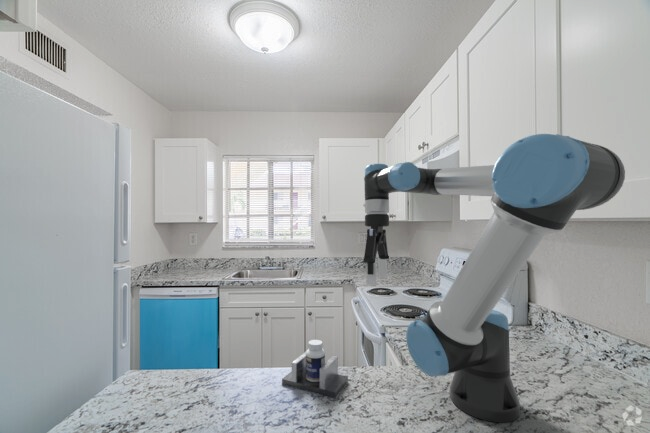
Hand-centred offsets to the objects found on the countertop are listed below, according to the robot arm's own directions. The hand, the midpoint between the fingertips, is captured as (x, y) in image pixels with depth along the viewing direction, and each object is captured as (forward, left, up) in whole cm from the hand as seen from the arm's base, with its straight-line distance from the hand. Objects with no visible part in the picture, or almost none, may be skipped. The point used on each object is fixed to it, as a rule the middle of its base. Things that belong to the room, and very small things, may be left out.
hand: (377, 282), depth 90 cm
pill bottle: (+14, +15, -25) cm, 33 cm away
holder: (+14, +15, -27) cm, 34 cm away
